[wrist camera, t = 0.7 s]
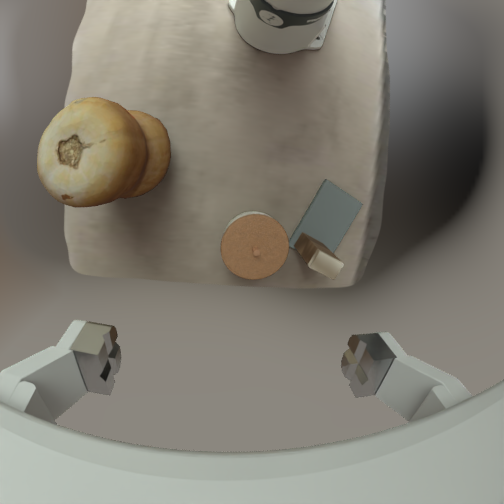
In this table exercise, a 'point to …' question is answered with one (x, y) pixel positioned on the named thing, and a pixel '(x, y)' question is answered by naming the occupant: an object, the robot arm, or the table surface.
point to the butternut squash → (101, 153)
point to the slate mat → (328, 216)
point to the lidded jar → (254, 245)
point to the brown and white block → (318, 256)
